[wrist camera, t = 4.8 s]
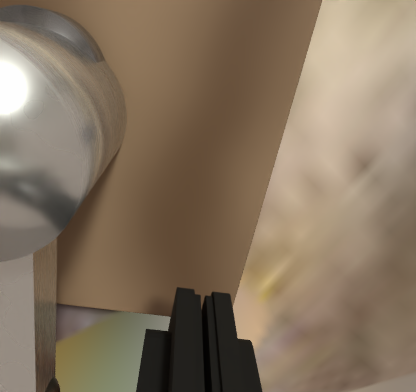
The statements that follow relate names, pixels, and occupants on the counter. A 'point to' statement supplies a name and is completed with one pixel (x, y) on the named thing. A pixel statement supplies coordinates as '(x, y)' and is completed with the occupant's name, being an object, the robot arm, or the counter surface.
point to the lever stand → (181, 145)
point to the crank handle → (45, 173)
